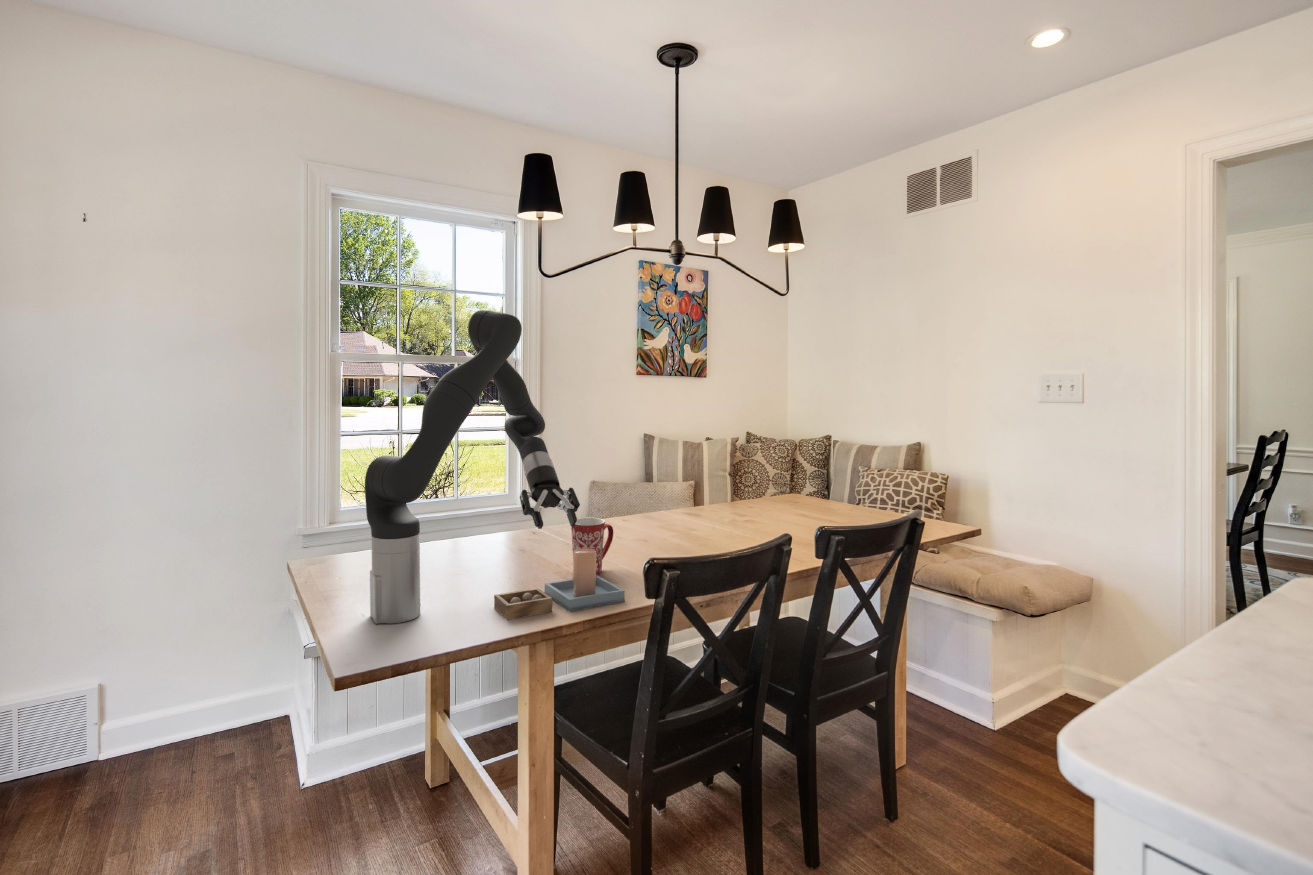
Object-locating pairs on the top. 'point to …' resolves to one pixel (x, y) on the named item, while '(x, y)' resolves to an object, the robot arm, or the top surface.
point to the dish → (564, 596)
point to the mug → (592, 537)
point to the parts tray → (522, 603)
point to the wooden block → (584, 572)
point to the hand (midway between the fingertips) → (557, 525)
